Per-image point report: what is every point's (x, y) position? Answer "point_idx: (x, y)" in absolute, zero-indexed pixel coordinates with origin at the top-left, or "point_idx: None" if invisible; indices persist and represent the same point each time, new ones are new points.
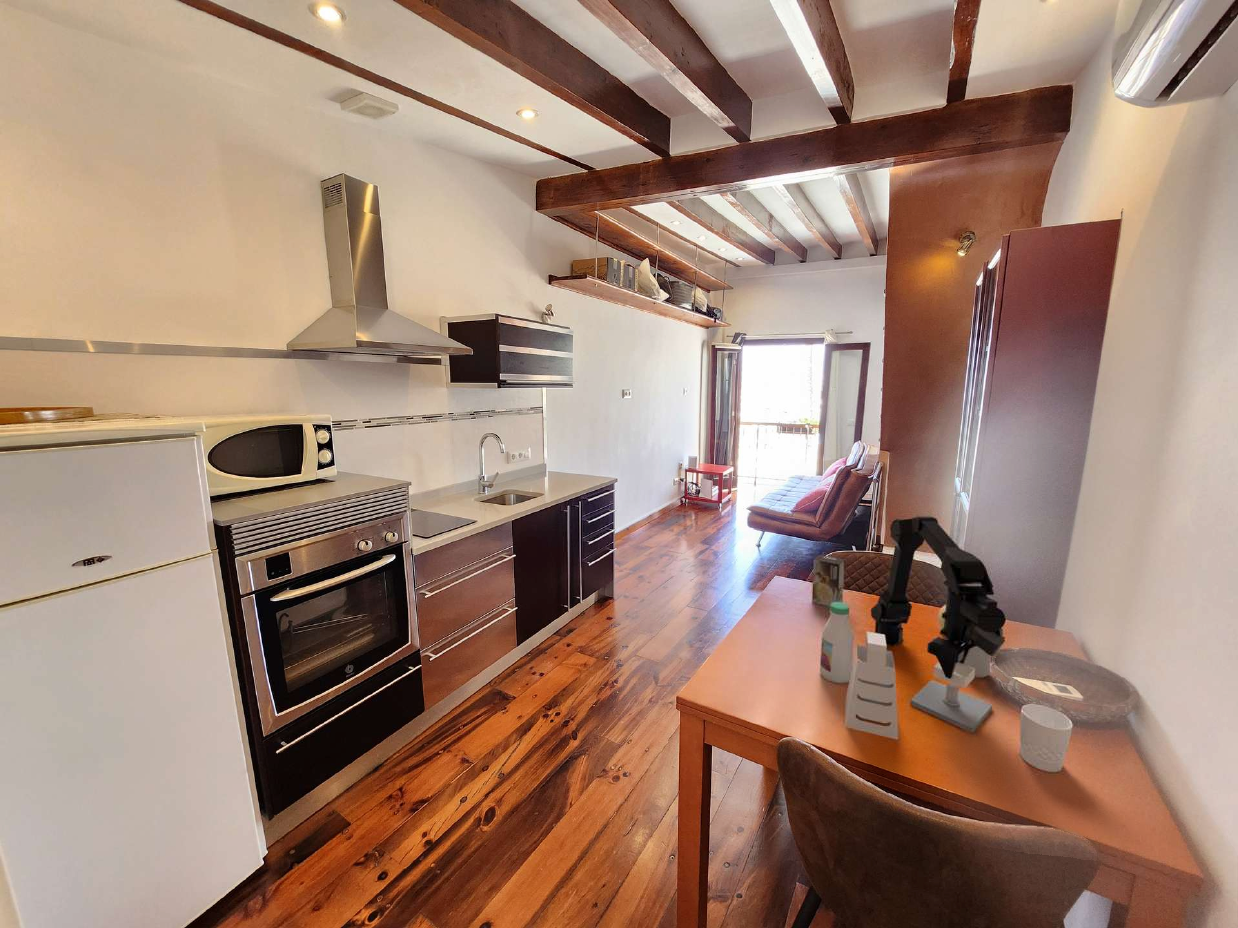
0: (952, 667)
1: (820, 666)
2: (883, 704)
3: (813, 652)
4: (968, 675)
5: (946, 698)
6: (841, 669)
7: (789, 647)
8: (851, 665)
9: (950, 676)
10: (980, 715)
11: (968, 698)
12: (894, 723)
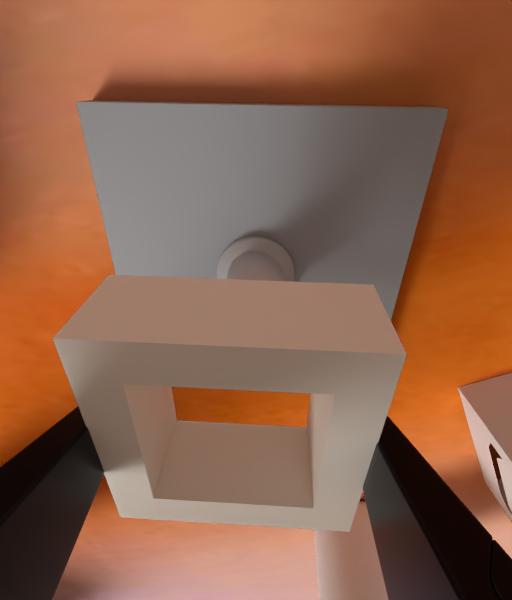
0: (505, 562)
1: None
2: (475, 426)
3: (280, 568)
4: (289, 346)
5: None
6: None
7: (304, 593)
8: (375, 566)
9: (394, 427)
10: (264, 120)
11: (141, 222)
12: None
